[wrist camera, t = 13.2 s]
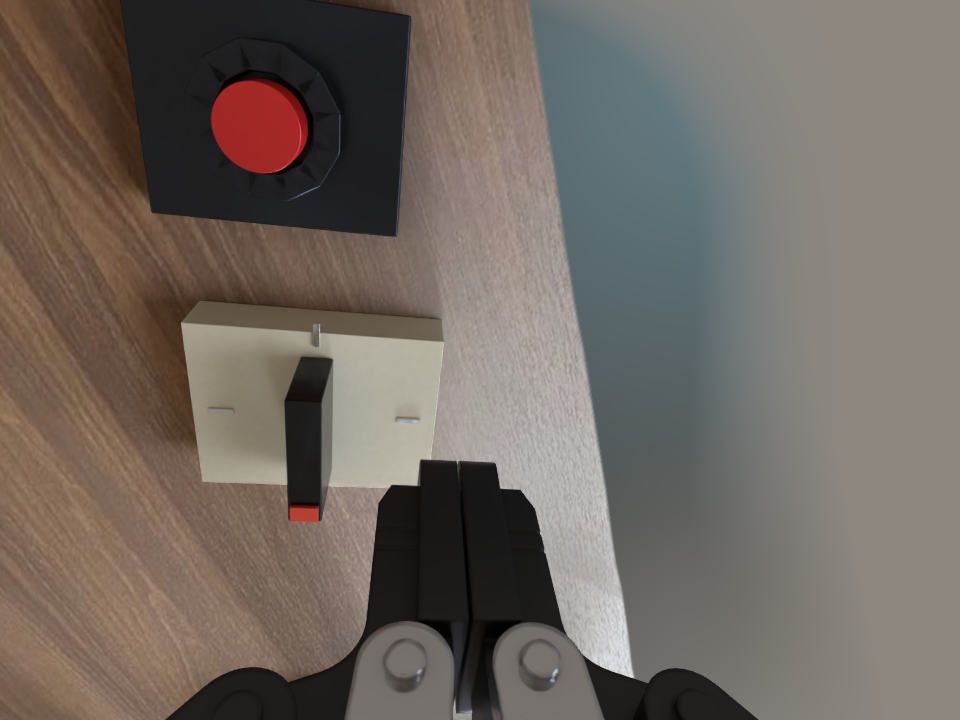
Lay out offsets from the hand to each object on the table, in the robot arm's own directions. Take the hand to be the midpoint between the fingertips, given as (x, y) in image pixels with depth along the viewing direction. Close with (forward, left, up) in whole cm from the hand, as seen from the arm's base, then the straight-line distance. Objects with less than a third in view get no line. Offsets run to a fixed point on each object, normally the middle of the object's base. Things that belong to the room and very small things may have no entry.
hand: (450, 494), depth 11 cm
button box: (+8, -4, -23) cm, 24 cm away
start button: (+8, -4, -19) cm, 21 cm away
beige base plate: (+6, +12, -23) cm, 26 cm away
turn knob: (+6, +12, -20) cm, 24 cm away
